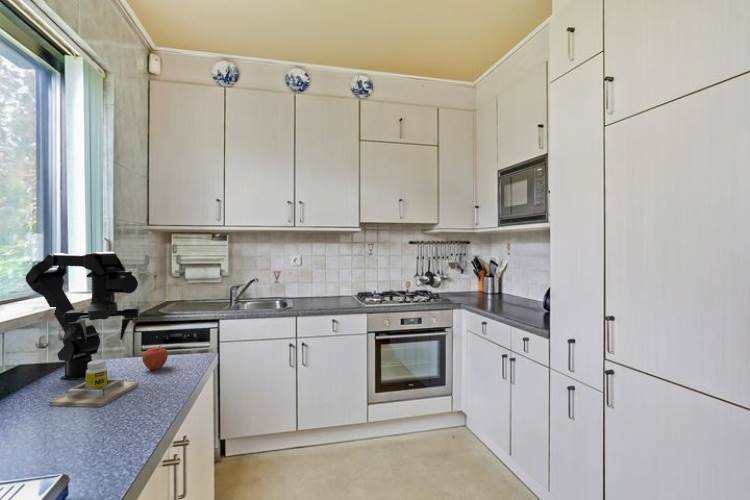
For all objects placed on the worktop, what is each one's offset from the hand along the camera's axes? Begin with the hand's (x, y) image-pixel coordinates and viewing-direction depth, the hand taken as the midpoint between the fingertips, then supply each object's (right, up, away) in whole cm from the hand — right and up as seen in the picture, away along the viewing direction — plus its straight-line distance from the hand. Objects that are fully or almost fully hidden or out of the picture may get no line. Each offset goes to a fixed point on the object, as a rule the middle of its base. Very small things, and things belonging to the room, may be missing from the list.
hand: (103, 341), depth 112 cm
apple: (+10, -12, +10) cm, 19 cm away
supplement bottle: (+6, -12, -11) cm, 17 cm away
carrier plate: (+6, -12, -11) cm, 18 cm away
